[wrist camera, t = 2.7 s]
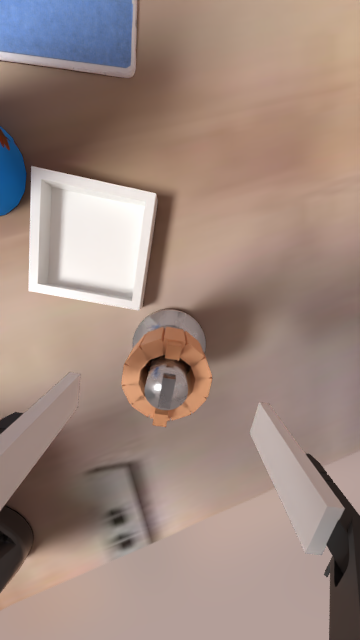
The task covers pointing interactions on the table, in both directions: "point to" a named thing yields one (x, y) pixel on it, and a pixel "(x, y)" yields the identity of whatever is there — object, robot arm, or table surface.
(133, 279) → the tray
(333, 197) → the table surface
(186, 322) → the grey stepped cylinder
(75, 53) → the tablet computer
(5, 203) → the thermos
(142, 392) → the ring
